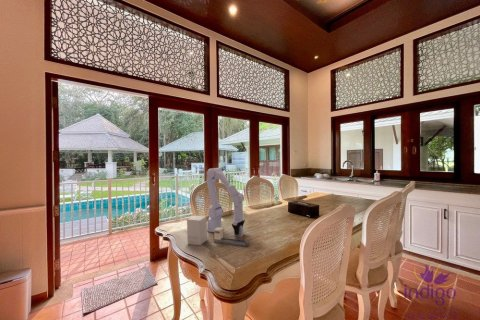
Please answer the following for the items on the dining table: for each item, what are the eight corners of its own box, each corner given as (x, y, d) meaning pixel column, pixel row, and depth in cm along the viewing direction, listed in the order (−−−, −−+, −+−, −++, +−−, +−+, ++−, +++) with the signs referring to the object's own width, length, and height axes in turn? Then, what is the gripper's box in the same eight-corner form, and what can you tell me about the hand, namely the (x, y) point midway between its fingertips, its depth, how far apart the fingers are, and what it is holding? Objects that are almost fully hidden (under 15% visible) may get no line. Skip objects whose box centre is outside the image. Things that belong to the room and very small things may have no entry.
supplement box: (207, 239, 130) (207, 216, 130) (200, 245, 122) (199, 220, 122) (194, 238, 133) (194, 215, 133) (187, 243, 125) (186, 219, 125)
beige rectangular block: (214, 239, 126) (214, 229, 126) (217, 236, 130) (217, 227, 130) (220, 240, 125) (220, 230, 125) (223, 237, 129) (222, 227, 129)
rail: (213, 242, 126) (213, 237, 126) (216, 239, 130) (216, 234, 130) (246, 246, 120) (246, 241, 120) (248, 243, 124) (248, 238, 124)
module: (234, 236, 136) (233, 227, 136) (236, 233, 140) (236, 225, 140) (241, 237, 134) (241, 227, 134) (243, 234, 138) (243, 225, 138)
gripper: (240, 215, 129) (241, 237, 129) (247, 209, 142) (247, 229, 143) (230, 214, 131) (230, 236, 131) (237, 209, 145) (237, 228, 145)
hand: (238, 232), depth 137 cm, fingers open, 7 cm apart
